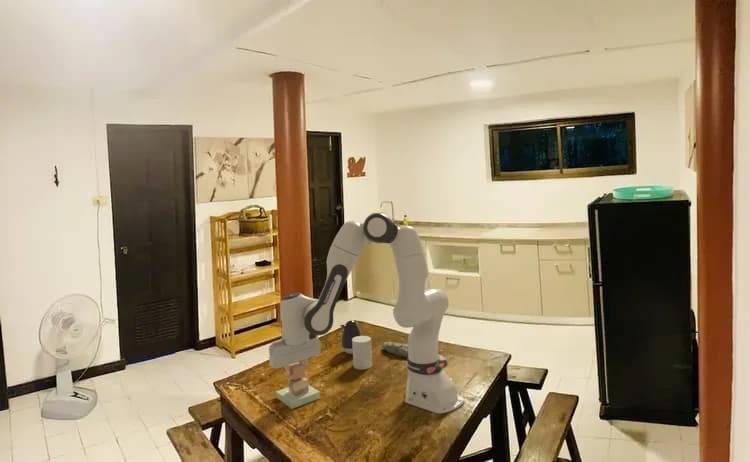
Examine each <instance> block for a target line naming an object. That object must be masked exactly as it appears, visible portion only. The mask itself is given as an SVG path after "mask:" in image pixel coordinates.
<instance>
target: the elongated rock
mask: <svg viewBox="0 0 750 462" xmlns="http://www.w3.org/2000/svg"><path fill="white" fill-rule="evenodd" d="M381 347H382V348H383V350H384V351H385V352H388V353H389V354H392V355H395V357H396V356H398V357H402V358H408V343H405V342H392V341H386V342H383V343H382V344H381ZM438 357H439V359H440V362H441V364H442V363H444V364H443V365H444V366H446V365H448V359H447V358H446V357H445V356H443V355H442V354H439V353H438ZM443 365H442V366H443ZM444 366H443V367H444Z"/></svg>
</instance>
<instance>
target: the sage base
mask: <svg viewBox="0 0 750 462" xmlns="http://www.w3.org/2000/svg"><path fill="white" fill-rule="evenodd" d="M308 386H309V392H308V393H305V394H302V395H299V396H297V397H296V396H294V395H293V394H291V393H290V392H289V389H288V386H287V387H285V388H282V389H279V390H276V391H275V396H276V399H278V400H279V401H281V402H282V403H283V404H284V405H286V406H287V407H289V408H290V409H292V410H293V409H295V408H299V407H301V406H303V405H306V404H308V403H311V402H314V401H317V400H319V399H321V391H319V390H318V389H316V388H314V387H313V386H311V385H309V384H308Z"/></svg>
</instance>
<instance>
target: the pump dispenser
mask: <svg viewBox="0 0 750 462" xmlns="http://www.w3.org/2000/svg"><path fill="white" fill-rule="evenodd" d="M340 327H341V328H343V329H342V333H341V341H340V346H341V349H342V350H343V351H344V352H345V354H349V355H353V347H352V339H353V338H354V337H357V336H363V335H362V332H361V329H360V327H359V325H358V323H357V322H356V321H354V320H352V319H351V320H348V321H346V322H345V324H342V323H341V324H340Z"/></svg>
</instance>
